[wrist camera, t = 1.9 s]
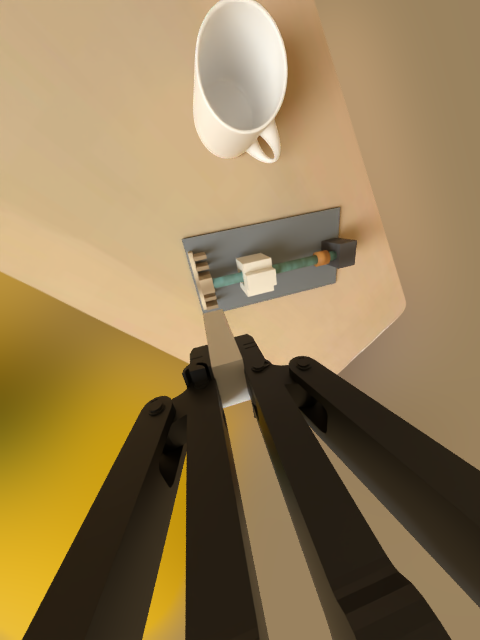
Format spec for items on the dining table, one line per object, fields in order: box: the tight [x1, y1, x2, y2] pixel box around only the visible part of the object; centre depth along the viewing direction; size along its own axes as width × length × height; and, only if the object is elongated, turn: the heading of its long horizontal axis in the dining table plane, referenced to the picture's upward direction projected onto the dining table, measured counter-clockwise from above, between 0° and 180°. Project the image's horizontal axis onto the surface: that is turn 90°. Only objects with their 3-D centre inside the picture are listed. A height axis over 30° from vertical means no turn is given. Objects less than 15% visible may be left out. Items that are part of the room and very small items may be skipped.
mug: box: [193, 0, 288, 163], centre depth 24 cm, size 9×12×11 cm
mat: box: [182, 207, 340, 313], centre depth 37 cm, size 14×28×1 cm, turn 100°
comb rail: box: [188, 238, 357, 310], centre depth 35 cm, size 10×27×6 cm, turn 100°
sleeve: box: [236, 253, 277, 297], centre depth 33 cm, size 5×4×7 cm
